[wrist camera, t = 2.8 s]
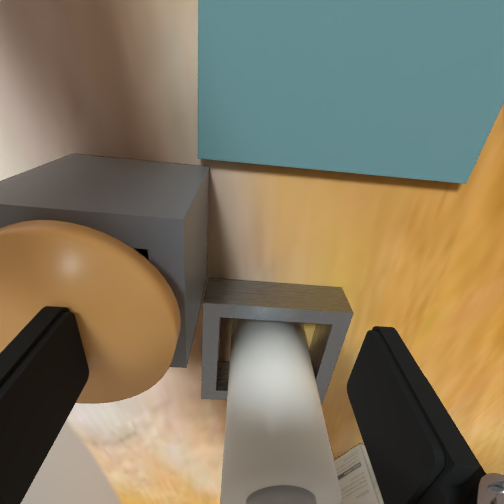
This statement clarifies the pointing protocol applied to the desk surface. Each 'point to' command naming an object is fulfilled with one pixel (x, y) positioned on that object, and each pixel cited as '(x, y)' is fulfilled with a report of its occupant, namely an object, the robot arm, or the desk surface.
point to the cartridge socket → (273, 309)
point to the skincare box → (357, 478)
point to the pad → (350, 84)
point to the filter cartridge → (275, 420)
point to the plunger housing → (127, 216)
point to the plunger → (91, 302)
